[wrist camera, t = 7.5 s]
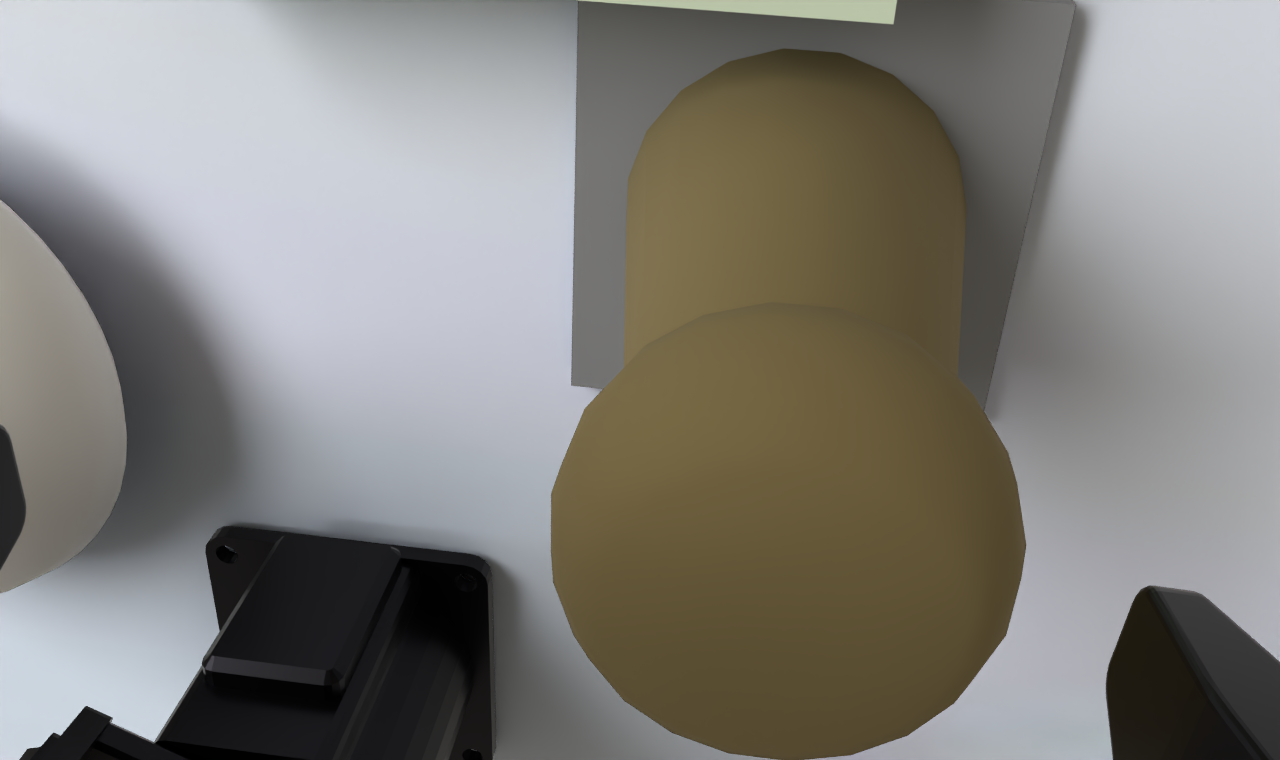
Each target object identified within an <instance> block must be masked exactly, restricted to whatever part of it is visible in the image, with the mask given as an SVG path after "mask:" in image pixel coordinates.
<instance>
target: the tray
mask: <svg viewBox="0 0 1280 760" xmlns="http://www.w3.org/2000/svg"><path fill="white" fill-rule="evenodd" d="M579 1H592V2H605V3H619V4H632V5H645V6H658V7H672V8H685V9H698V10H711V11H724V12H738V13H751V14H764V15H777V16H790V17H804V18H817V19H830V20H843V21H857V22H870V23H883V24H893V23H894V17H895V10H896V4H897V0H579Z"/></svg>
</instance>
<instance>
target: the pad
mask: <svg viewBox="0 0 1280 760" xmlns="http://www.w3.org/2000/svg"><path fill="white" fill-rule="evenodd" d="M1075 7H1076V4H1075V3H1074V2H1073V1H1072V0H897V4H896V10H895V17H894V23H893V24H883V23H870V22H857V21H843V20H830V19H817V18H804V17H790V16H777V15H764V14H751V13H738V12H724V11H711V10H698V9H685V8H672V7H658V6H645V5H632V4H619V3H605V2H592V1H579V0H578V36H577V92H576V148H575V204H574V260H573V316H572V372H571V385H572V386H581V387H591V388H600V389H604V388H605V387H606V386H607V385H608V384H609V383H610V382H611V381H612V380H613V379H614V378H615V376H616V375H617V374H618V373H619V372H620V371H621V370H622V369H623V368H624V322H625V261H626V216H627V191H628V177H629V175H630V172H631V169H632V167H633V164H634V162H635V159H636V157H637V154H638V152H639V149H640V147H641V144H642V141H643V139H644V136H645V134H646V131H647V130H648V129H649V128H650V126H651V125H652V124H653V123H654V122H655V120H656V119H657V118H658V117H659V116H660V115H661V113H662V112H663V111H664V110H665V109H666V107H667V106H668V105H669V104H670V103H671V102H672V100H673V99H674V98H675V97H676V96H677V94H678V93H679V92H680V91H681V90H683V89H684V88H686V87H687V86H689V85H691V84H692V83H694V82H696V81H697V80H699V79H701V78H702V77H704V76H705V75H707V74H709V73H710V72H712V71H714V70H715V69H717V68H718V67H720V66H722V65H723V64H725V63H727V62H729V61H733V60H737V59H741V58H745V57H749V56H754V55H758V54H762V53H766V52H770V51H774V50H779V49H783V48H785V49H799V50H812V51H825V52H838V53H842V54H845V55H847V56H850V57H852V58H854V59H857V60H859V61H862V62H864V63H866V64H869V65H871V66H874V67H876V68H878V69H881V70H883V71H886V72H888V73H890V74H893V75H894V76H895V77H896V78H897V79H898V80H900V81H901V82H902V83H903V84H904V85H905V86H906V87H907V88H909V89H910V90H911V91H912V92H913V93H914V94H915V95H916V96H918V97H919V98H920V99H921V100H922V101H923V102H924V103H925V104H927V105H928V106H929V107H930V108H931V109H932V110H933V111H934V112H935V114H936V116H937V118H938V120H939V122H940V123H941V125H942V127H943V129H944V131H945V133H946V134H947V136H948V138H949V140H950V142H951V143H952V145H953V147H954V149H955V151H956V153H957V154H958V156H959V161H960V168H961V174H962V181H963V187H964V194H965V200H966V207H967V209H966V228H965V246H964V265H963V284H962V302H961V321H960V339H959V358H958V378H959V379H960V380H961V381H962V382H963V384H964V385H965V386H966V387H967V388H968V389H969V390H970V392H971V393H972V394H973V395H974V396H975V398H976V400H977V401H978V403H979V405H980V406H981V408H982V410H983V411H984V408H985V404H986V399H987V395H988V391H989V386H990V382H991V377H992V373H993V369H994V364H995V360H996V355H997V351H998V346H999V342H1000V338H1001V333H1002V329H1003V324H1004V320H1005V316H1006V311H1007V307H1008V302H1009V298H1010V294H1011V289H1012V285H1013V280H1014V276H1015V272H1016V267H1017V263H1018V258H1019V254H1020V250H1021V245H1022V241H1023V236H1024V232H1025V228H1026V223H1027V219H1028V214H1029V210H1030V205H1031V201H1032V197H1033V192H1034V188H1035V183H1036V179H1037V175H1038V170H1039V166H1040V161H1041V157H1042V153H1043V148H1044V144H1045V139H1046V135H1047V131H1048V126H1049V122H1050V117H1051V113H1052V109H1053V104H1054V100H1055V95H1056V91H1057V87H1058V82H1059V78H1060V73H1061V69H1062V64H1063V60H1064V56H1065V51H1066V47H1067V42H1068V38H1069V34H1070V29H1071V25H1072V20H1073V16H1074V12H1075Z"/></svg>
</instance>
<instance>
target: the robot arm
mask: <svg viewBox="0 0 1280 760" xmlns="http://www.w3.org/2000/svg"><path fill="white" fill-rule="evenodd" d="M25 518H26V500H25V496H24V492H23V487H22V483H21V479H20V475H19V470H18V466H17V462H16V458H15V453H14V449H13V445H12V441H11V437H10V435H9V433H8V431H7V430H6V429H5V427H4V426H3V425H1V424H0V570H1V568H2V567H3V565H4V563H5V561H6V560H7V558H8V556H9V554H10V552H11V551H12V549H13V547H14V545H15V543H16V542H17V540H18V538H19V536H20V534H21V532H22V529H23V526H24V523H25ZM225 546H228V547H231V548H232V549H234V550H235V551H236V553H235V552H232V551H230V550H229V549H227V548H226V547H225ZM206 557H207V563H208V569H209V574H210V580H211V585H212V591H213V596H214V602H215V607H216V613H217V619H218V624H219V630H220V632H219V634H218V635H217V637H216V639H215V640H214V642H213V643H212V645H211V647H210V648H209V650H208V651H207V653H206V655H205V656H204V658H203V661H202V666H201V668H200V669H199V671H198V673H197V674H196V676H195V677H194V679H193V681H192V682H191V684H190V685H189V687H188V689H187V690H186V692H185V693H184V695H183V697H182V698H181V700H180V701H179V703H178V705H177V706H176V708H175V709H174V711H173V713H172V714H171V716H170V718H169V719H168V721H167V722H166V724H165V726H164V727H163V729H162V730H161V732H160V734H159V735H158V737H157V738H156V740H155V742H152V741H150V740H148V739H146V738H143V737H141V736H139V735H137V734H135V733H132V732H130V731H128V730H126V729H124V728H121V727H119V726H117V725H115V724H113V723H111V722H112V719H113V718H112V717H110V716H107V715H105V714H103V713H101V712H99V711H97V710H94V709H92V708H90V707H88V706H86V707H84V709H83V710H82V711H81V712H80V713H79V715H78V716H77V717H76V718H75V719H74V721H73V722H72V723H71V724H70V725H69V727H68V728H67V729H66V730H65V731H64V732H63V734H62V735H61V736H60V735H58V734H56V733H53V734H52V735H51V736H50V737H49V738H48V739H47V740H46V741H45V743H44V744H43V745H42V746H41V747H38V748H30V749H27V750H26V752H25V753H24V754H23V756H22V757H21V758H20V760H493V756H494V753H495V749H496V715H495V673H494V631H493V590H492V572H491V568H490V566H489V565H488V564H487V562H486V561H485V560H483V559H482V558H480V557H478V556H475V555H472V554H466V553H457V552H449V551H440V550H432V549H423V548H415V547H406V546H397V545H389V544H380V543H372V542H363V541H354V540H346V539H337V538H329V537H320V536H312V535H303V534H294V533H286V532H277V531H269V530H260V529H251V528H243V527H234V526H224V527H222V528H219V529H217V531H216V532H215V533H214V535H213V536H212V538H211V539H210V541H209V542H208V543H207V545H206ZM461 574H467V575H470V576H472V577H473V578H474V579H475V580H468V579H465V578H464V577H463V576H461ZM1106 700H1107V709H1108V718H1109V727H1110V737H1111V746H1112V755H1113V760H1280V662H1279V661H1278V660H1277V659H1276V658H1275V657H1274V656H1272V655H1271V654H1270V653H1269V652H1268V651H1267V650H1266V649H1265V648H1263V647H1262V646H1261V645H1260V644H1259V643H1258V642H1257V641H1255V640H1254V639H1253V638H1252V637H1251V636H1250V635H1249V634H1247V633H1246V632H1245V631H1244V630H1243V629H1242V628H1241V627H1239V626H1238V625H1237V624H1236V623H1235V622H1234V621H1233V620H1231V619H1230V618H1229V617H1228V616H1227V615H1226V614H1225V613H1223V612H1222V611H1221V610H1220V609H1219V608H1218V607H1217V606H1215V605H1214V604H1213V603H1212V602H1211V601H1210V600H1209V599H1207V598H1206V597H1205V596H1203V595H1202V594H1200V593H1197V592H1194V591H1188V590H1181V589H1174V588H1167V587H1160V586H1147V587H1145V588H1143V589H1141V590H1140V591H1139V593H1138V594H1137V595H1136V597H1135V599H1134V601H1133V603H1132V606H1131V608H1130V611H1129V613H1128V616H1127V619H1126V621H1125V624H1124V626H1123V629H1122V632H1121V634H1120V637H1119V639H1118V642H1117V645H1116V647H1115V650H1114V652H1113V655H1112V657H1111V660H1110V663H1109V667H1108V671H1107V678H1106ZM471 749H474V750H477V751H474V750H471Z"/></svg>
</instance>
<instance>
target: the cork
mask: <svg viewBox="0 0 1280 760" xmlns="http://www.w3.org/2000/svg"><path fill="white" fill-rule="evenodd" d="M966 209H967V207H966V200H965V194H964V187H963V181H962V174H961V168H960V161H959V156H958V154H957V153H956V151H955V149H954V147H953V145H952V143H951V142H950V140H949V138H948V136H947V134H946V133H945V131H944V129H943V127H942V125H941V123H940V122H939V120H938V118H937V116H936V114H935V112H934V111H933V110H932V109H931V108H930V107H929V106H928V105H927V104H925V103H924V102H923V101H922V100H921V99H920V98H919V97H918V96H916V95H915V94H914V93H913V92H912V91H911V90H910V89H909V88H907V87H906V86H905V85H904V84H903V83H902V82H901V81H900V80H898V79H897V78H896V77H895V76H894V75H893V74H890V73H888V72H886V71H883V70H881V69H878V68H876V67H874V66H871V65H869V64H866V63H864V62H862V61H859V60H857V59H854V58H852V57H850V56H847V55H845V54H842V53H838V52H825V51H812V50H799V49H785V48H783V49H779V50H774V51H770V52H766V53H762V54H758V55H754V56H749V57H745V58H741V59H737V60H733V61H729V62H727V63H725V64H723V65H722V66H720V67H718V68H717V69H715V70H714V71H712V72H710V73H709V74H707V75H705V76H704V77H702V78H701V79H699V80H697V81H696V82H694V83H692V84H691V85H689V86H687V87H686V88H684V89H683V90H681V91H680V92H679V93H678V94H677V96H676V97H675V98H674V99H673V100H672V102H671V103H670V104H669V105H668V106H667V107H666V109H665V110H664V111H663V112H662V113H661V115H660V116H659V117H658V118H657V119H656V120H655V122H654V123H653V124H652V125H651V126H650V128H649V129H648V130H647V131H646V134H645V136H644V139H643V141H642V144H641V147H640V149H639V152H638V154H637V157H636V159H635V162H634V164H633V167H632V169H631V172H630V175H629V177H628V191H627V216H626V261H625V322H624V368H623V369H622V370H621V371H620V372H619V373H618V374H617V375H616V376H615V378H614V379H613V380H612V381H611V382H610V383H609V384H608V385H607V386H606V387H605V388H604V389H603V390H602V391H601V392H600V393H599V394H598V395H597V396H596V398H595V399H594V400H593V401H592V402H591V403H590V404H589V405H588V406H587V407H586V408H585V409H584V412H583V414H582V417H581V419H580V421H579V424H578V426H577V429H576V431H575V433H574V436H573V438H572V441H571V443H570V445H569V448H568V450H567V453H566V455H565V457H564V460H563V462H562V465H561V467H560V470H559V473H558V476H557V479H556V482H555V485H554V487H553V490H552V493H551V558H552V572H553V583H554V586H555V588H556V591H557V593H558V596H559V598H560V601H561V604H562V606H563V609H564V611H565V614H566V617H567V619H568V622H569V624H570V627H571V629H572V632H573V635H574V636H575V638H576V640H577V641H578V643H579V644H580V646H581V647H582V649H583V650H584V652H585V653H586V655H587V656H588V658H589V659H590V661H591V662H592V663H593V664H594V665H595V667H596V668H597V669H598V670H599V671H600V673H601V674H602V675H603V676H604V677H605V678H606V680H607V681H608V682H609V683H610V684H611V686H612V687H613V688H614V689H615V690H616V692H617V693H618V694H619V695H620V696H621V697H622V699H623V700H624V701H625V702H627V703H628V704H630V705H631V706H633V707H634V708H636V709H637V710H639V711H640V712H642V713H643V714H645V715H646V716H648V717H649V718H651V719H652V720H654V721H655V722H657V723H658V724H660V725H661V726H663V727H664V728H666V729H667V730H669V731H670V732H672V733H674V734H677V735H680V736H682V737H685V738H688V739H691V740H693V741H696V742H699V743H702V744H704V745H707V746H710V747H713V748H715V749H718V750H721V751H724V752H726V753H730V754H738V755H746V756H754V757H762V758H770V759H778V760H805V759H815V758H826V757H836V756H847V755H853V754H855V753H858V752H861V751H864V750H867V749H870V748H873V747H876V746H879V745H881V744H884V743H887V742H890V741H893V740H896V739H899V738H902V737H905V736H907V735H909V734H910V733H912V732H913V731H915V730H916V729H917V728H919V727H920V726H922V725H923V724H925V723H926V722H928V721H929V720H930V719H932V718H933V717H935V716H936V715H938V714H939V713H941V712H942V711H943V710H945V709H946V708H948V707H949V706H951V705H952V704H954V703H955V701H956V700H957V699H958V698H959V696H960V695H961V694H962V693H963V691H964V690H965V689H966V688H967V687H968V685H969V684H970V683H971V681H972V680H973V679H974V677H975V676H976V675H977V673H978V672H979V671H980V669H981V668H982V667H983V665H984V664H985V663H986V661H987V660H988V659H989V657H990V656H991V655H992V653H993V652H994V651H995V649H996V648H997V647H998V645H999V644H1000V643H1001V641H1002V640H1003V639H1004V637H1005V636H1006V634H1007V630H1008V626H1009V622H1010V619H1011V615H1012V611H1013V607H1014V604H1015V600H1016V596H1017V592H1018V589H1019V585H1020V581H1021V576H1022V570H1023V563H1024V557H1025V550H1026V541H1025V534H1024V527H1023V521H1022V514H1021V507H1020V500H1019V494H1018V487H1017V482H1016V478H1015V475H1014V472H1013V468H1012V465H1011V461H1010V458H1009V454H1008V452H1007V450H1006V448H1005V447H1004V445H1003V443H1002V442H1001V440H1000V438H999V437H998V435H997V433H996V432H995V430H994V428H993V426H992V425H991V423H990V421H989V420H988V418H987V416H986V415H985V413H984V411H983V410H982V408H981V406H980V405H979V403H978V401H977V400H976V398H975V396H974V395H973V394H972V393H971V392H970V390H969V389H968V388H967V387H966V386H965V385H964V384H963V382H962V381H961V380H960V379H959V378H958V358H959V339H960V321H961V302H962V284H963V265H964V246H965V228H966Z"/></svg>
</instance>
